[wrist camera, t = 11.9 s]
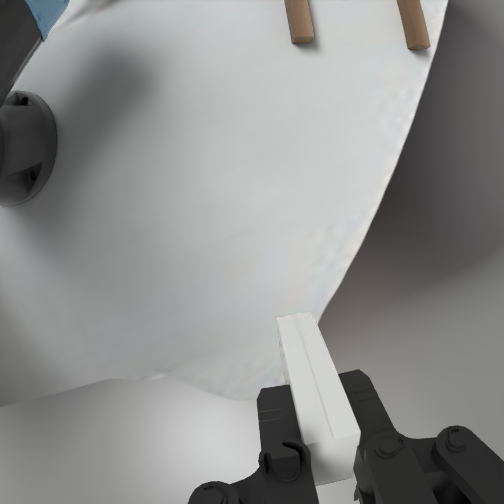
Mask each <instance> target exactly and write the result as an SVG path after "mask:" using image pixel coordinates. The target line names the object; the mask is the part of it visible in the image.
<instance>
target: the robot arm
mask: <svg viewBox="0 0 504 504" xmlns="http://www.w3.org/2000/svg"><path fill="white" fill-rule="evenodd" d="M68 3H69V0H0V206H5V207H6V206H14V205H17V204H20V203H22V202H25V201H27V200H29V199H31V198H32V197H34V196H35V195H36V194H37V193H38V192H39V191H40V190H41V189H42V187H43V186H44V184H45V183H46V181H47V179H48V177H49V175H50V173H51V171H52V168H53V164H54V161H55V156H56V148H57V134H56V126H55V122H54V118H53V116H52V113H51V111H50V109H49V107H48V106H47V104H46V103H45V102H44V101H43V100H42V99H41V98H40V97H39V96H37V95H35V94H33V93H30V92H25V91H10V90H11V89H12V87H13V85H14V84H15V82H16V80H17V79H18V77H19V76H20V74H21V72H22V71H23V69H24V68H25V66H26V65H27V63H28V62H29V60H30V59H31V57H32V56H33V54H34V53H35V51H36V50H37V49H38V47H39V46H40V44H41V43H42V42H44V41H45V40H46V39H47V36H48V32H49V31H50V30H51V28H52V27H53V25H54V24H55V23H56V21H57V20H58V19H59V17H60V16H61V15H62V13H63V12H64V11H65V9H66V8H67V6H68ZM276 319H277V326H278V334H279V343H280V351H281V359H282V367H283V372H284V376H285V381H286V385H282V386H276V387H270V388H263V389H261V391H260V393H259V396H258V398H257V408H258V419H259V430H260V440H261V452H260V454H259V460H258V462H259V465H260V466H259V468H258V469H257V471H256V472H255V473H253V474H252V475H251V476H249V477H247V478H245V479H244V480H240V481H238V482H235V483H232V484H227V483H224V482H220V481H213V482H212V481H211V482H208V483H204V484H202V485H200V486H199V487H197V488H196V489H195V490H194V492H193V493H192V495H191V496H190V499H189V502H188V504H319V501H318V496H317V492H316V488H315V486H319V485H324V484H328V483H333V482H337V481H341V480H345V479H349V478H352V477H353V473H355V476H356V480H357V485H356V490H355V493H354V501H355V500H358V498H359V502H360V504H504V461H503V460H502V459H501V458H500V457H499V456H498V455H497V454H495V453H494V452H493V451H492V450H491V449H490V448H489V447H488V446H487V445H486V444H485V443H484V442H482V441H481V440H480V439H479V438H478V437H477V436H476V435H475V434H474V433H473V432H472V431H470V430H469V429H467V428H465V427H462V426H458V425H457V426H450V427H447V428H445V429H443V430H442V431H441V432H440V433H439V434H438V436H437V437H435V438H425V439H412V438H408V437H405V436H404V435H402V434H400V433H399V432H397V431H396V429H395V428H394V426H393V424H392V422H391V420H390V418H389V416H388V414H387V412H386V410H385V408H384V406H383V404H382V402H381V400H380V398H379V397H378V394H377V392H376V390H375V389H374V386H373V384H372V382H371V380H370V378H369V377H368V376H367V375H366V374H364V373H363V372H362V371H360V370H359V369H358V370H354V371H350V372H345V373H341V374H337V371H336V369H335V366H334V364H333V362H332V359H331V357H330V354H329V352H328V349H327V347H326V345H325V342H324V340H323V337H322V335H321V333H320V330H319V328H318V325H317V323H316V321H315V318H314V316H313V314H312V311H311V312H305V313H300V314H294V315H288V316H282V317H276Z"/></svg>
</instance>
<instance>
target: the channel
mask: <svg viewBox="0 0 504 504" xmlns="http://www.w3.org/2000/svg"><path fill="white" fill-rule="evenodd" d="M284 1H285V6H286V12H287V17H288V23H289V29H290V35H291V41H292V43H310V41H311V40H312V39H313V38H314V32H313V27H312V21H311V16H310V11H309V6H308V1H307V0H284ZM397 3H398V7H399V11H400V15H401V19H402V23H403V28H404V32H405V37H406V42H407V47H408V49H414V50H423V49H426V48H428V47H431V46H430V41H429V36H428V32H427V28H426V23H425V19H424V15H423V11H422V8H421V4H420V0H397Z"/></svg>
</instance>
